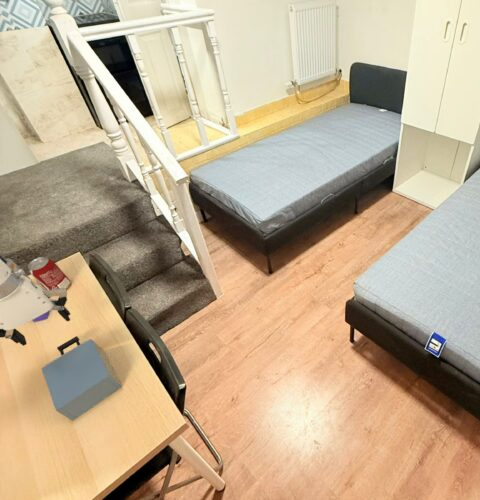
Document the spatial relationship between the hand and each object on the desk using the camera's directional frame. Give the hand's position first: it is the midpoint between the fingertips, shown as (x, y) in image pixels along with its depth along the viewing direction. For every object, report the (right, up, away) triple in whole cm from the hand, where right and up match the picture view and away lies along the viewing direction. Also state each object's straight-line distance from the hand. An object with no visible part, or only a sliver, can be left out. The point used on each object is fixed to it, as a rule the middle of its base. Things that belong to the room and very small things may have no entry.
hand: (46, 329), depth 83 cm
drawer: (+5, -13, +7) cm, 16 cm away
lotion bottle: (-27, +4, +28) cm, 39 cm away
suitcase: (+8, -16, +5) cm, 19 cm away
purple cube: (-19, -1, +22) cm, 29 cm away
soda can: (-20, +7, +30) cm, 36 cm away
